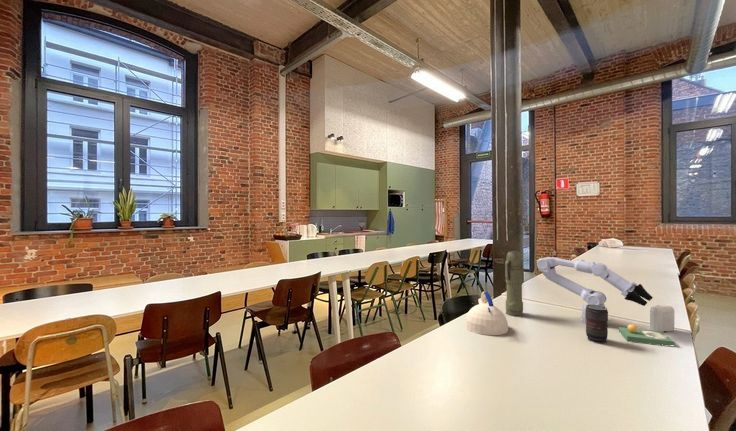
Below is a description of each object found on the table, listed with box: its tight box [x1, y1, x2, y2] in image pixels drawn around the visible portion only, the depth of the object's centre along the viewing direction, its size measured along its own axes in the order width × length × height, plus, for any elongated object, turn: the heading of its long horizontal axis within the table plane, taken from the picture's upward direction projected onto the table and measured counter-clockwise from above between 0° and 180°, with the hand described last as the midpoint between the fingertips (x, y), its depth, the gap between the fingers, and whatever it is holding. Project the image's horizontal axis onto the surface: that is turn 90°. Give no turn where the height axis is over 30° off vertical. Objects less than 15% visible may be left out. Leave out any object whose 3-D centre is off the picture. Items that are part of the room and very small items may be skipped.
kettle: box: [464, 291, 509, 336], centre depth 161 cm, size 20×21×18 cm
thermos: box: [504, 250, 524, 317], centre depth 181 cm, size 9×12×35 cm
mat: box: [618, 326, 676, 346], centre depth 144 cm, size 16×12×2 cm
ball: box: [626, 324, 639, 333], centre depth 146 cm, size 4×4×4 cm
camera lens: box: [585, 304, 609, 344], centre depth 143 cm, size 8×8×15 cm
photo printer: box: [649, 303, 675, 333], centre depth 154 cm, size 10×4×12 cm, turn 98°
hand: (648, 301), depth 148 cm, fingers open, 7 cm apart
